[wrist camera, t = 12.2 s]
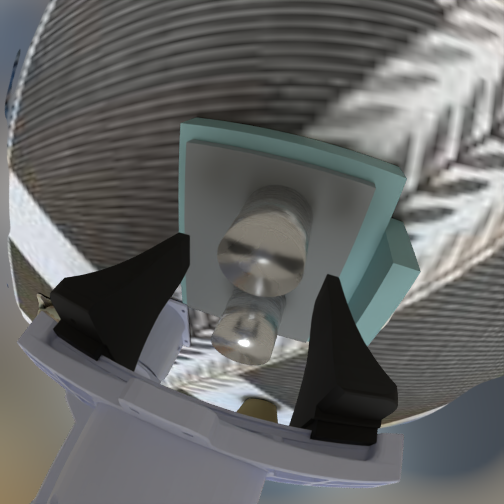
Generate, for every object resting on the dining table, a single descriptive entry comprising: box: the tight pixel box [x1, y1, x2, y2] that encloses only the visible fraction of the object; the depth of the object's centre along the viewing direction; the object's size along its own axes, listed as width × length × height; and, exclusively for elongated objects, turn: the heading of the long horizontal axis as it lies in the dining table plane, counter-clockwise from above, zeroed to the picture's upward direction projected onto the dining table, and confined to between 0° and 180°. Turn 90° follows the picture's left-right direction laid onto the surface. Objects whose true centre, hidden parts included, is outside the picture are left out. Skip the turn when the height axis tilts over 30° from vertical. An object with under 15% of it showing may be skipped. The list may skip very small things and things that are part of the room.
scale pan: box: [184, 139, 376, 343], centre depth 21 cm, size 16×12×1 cm
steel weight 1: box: [217, 185, 313, 297], centre depth 16 cm, size 4×4×5 cm
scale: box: [179, 117, 421, 346], centre depth 20 cm, size 18×17×6 cm
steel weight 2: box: [211, 286, 286, 365], centre depth 21 cm, size 4×4×5 cm
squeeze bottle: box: [237, 399, 278, 423], centre depth 38 cm, size 8×8×18 cm
